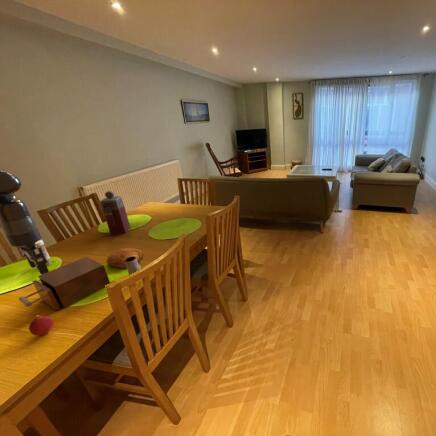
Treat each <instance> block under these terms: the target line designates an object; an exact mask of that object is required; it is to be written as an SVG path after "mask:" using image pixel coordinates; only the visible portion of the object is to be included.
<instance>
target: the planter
mask: <svg viewBox="0 0 436 436" xmlns="http://www.w3.org/2000/svg"><path fill="white" fill-rule="evenodd" d="M125 264H126V270H127V273H128V276H129V275H130V274H132V273H134V272H136V271H138V270H140V271H141V269H140V266H139V262H137V259H136V257H129V258H126V259H125Z"/></svg>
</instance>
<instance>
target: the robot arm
mask: <svg viewBox="0 0 436 436" xmlns="http://www.w3.org/2000/svg"><path fill="white" fill-rule="evenodd" d="M21 188H22V182H21V180H20V179H19V177H18V176H16V175H15V174H13V173H11V172H8V171H5V170H2V169H0V226H1V229H2V231H3V233H4V235H5V237H6V239H7V241H8V243H9V245H10V246H11V247H15V248H17V247H18V248H19V251H20V252H21V254H22V256H23V257H24V258H25V259H26V260H27V262H28V265H29V267H30V268H31V269H34V268H37V271H38V273H39V274H40V275H42V274H45V273H47V272H49V271H50V270H49V268H48V266H46V264H45V263H47V260H46V258H45V256H44V254H43V252H42V249H41V248H40V247H39V246H38V245H36V244H35V243H36V242H37V241H39V240H42V235H41V233H40V230H39V228H38V227H37V224H36V222H35V220H34V218H33V217H32V215H31V213H30V211H29V209H28V206H27V205H26V202H25V201H23V200H22V199H20V198H19V197H17V196H16V194H15V193H17V192H19V190H20V189H21ZM38 259H41V260H42V261H38Z"/></svg>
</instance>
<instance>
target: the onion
mask: <svg viewBox="0 0 436 436" xmlns="http://www.w3.org/2000/svg"><path fill="white" fill-rule="evenodd" d="M54 321H55V320H54V319H52V317H50V316H47V315H40V314H37V315H36V316H35V317H34V319H32V320H31V321H30V323H29V327H28V330H29V332H30V334H32V335H34V336H42V335H46V334H48V333H50V331H51V330H52V329H53V327H54V325H55V322H54Z"/></svg>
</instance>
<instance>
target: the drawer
mask: <svg viewBox="0 0 436 436" xmlns="http://www.w3.org/2000/svg"><path fill="white" fill-rule="evenodd" d="M31 282H32V284H33V287H34V288H35V290H36V291H34V292H33V293H29V294H28V295H26V296H20V297H18V301H19V302H20V303H22V304H23V305H24V306H25V307H27V308H29V307H31V306H32V305H33V304H35V303H37V302H39V301H43V302H44V303H46V304H47V305H48V306H50V307H51V308H52V309H54V310H55V311H58V310H60V309H61V306H60V305H59V304H58V303H57V301H59V302H60V303H61V301H60V299H59V297H58V295H57V293H56V291H55V289H54V288H53V287H52V286H50V285H49V284H47V283H46V282H44V281H43V282H44V284H45V286H44V285H43V284H42V283H41V281H40V280H37V279H35V280H33V281H31ZM37 294H38V295H39V298H37V299H35V300H32V301H30V300H29V299H28V298H31V297H32V296H35V295H37ZM56 300H57V301H56Z"/></svg>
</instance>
